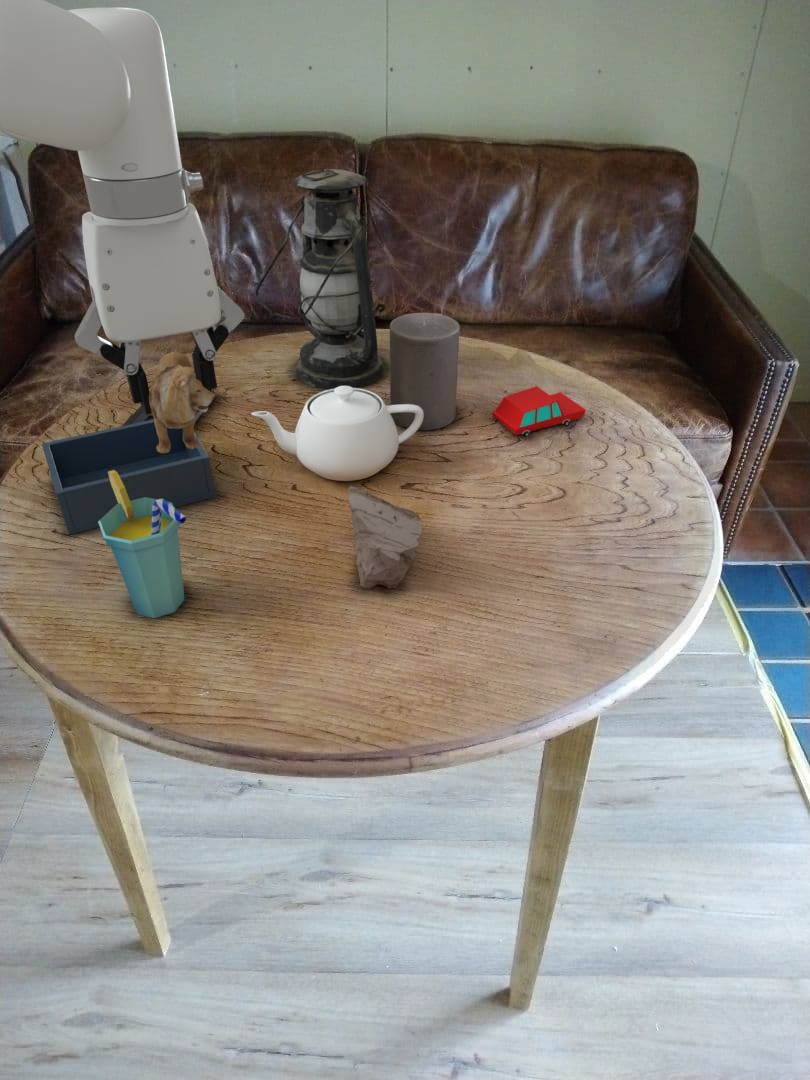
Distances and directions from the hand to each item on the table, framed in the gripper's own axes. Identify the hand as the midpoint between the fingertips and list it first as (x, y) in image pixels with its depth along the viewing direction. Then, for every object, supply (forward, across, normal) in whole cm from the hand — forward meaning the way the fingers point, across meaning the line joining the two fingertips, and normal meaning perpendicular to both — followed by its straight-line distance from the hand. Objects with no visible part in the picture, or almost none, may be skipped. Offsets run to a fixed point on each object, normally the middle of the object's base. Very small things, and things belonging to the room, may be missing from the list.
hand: (176, 400), depth 74 cm
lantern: (+21, -31, -42) cm, 56 cm away
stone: (+21, -18, +6) cm, 29 cm away
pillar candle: (+21, -38, -23) cm, 49 cm away
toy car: (+21, -52, -14) cm, 58 cm away
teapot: (+21, -22, -16) cm, 34 cm away
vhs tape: (+21, -5, -38) cm, 44 cm away
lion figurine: (+4, 0, 0) cm, 4 cm away
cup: (+21, +6, +2) cm, 22 cm away
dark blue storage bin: (+21, +4, -21) cm, 30 cm away
